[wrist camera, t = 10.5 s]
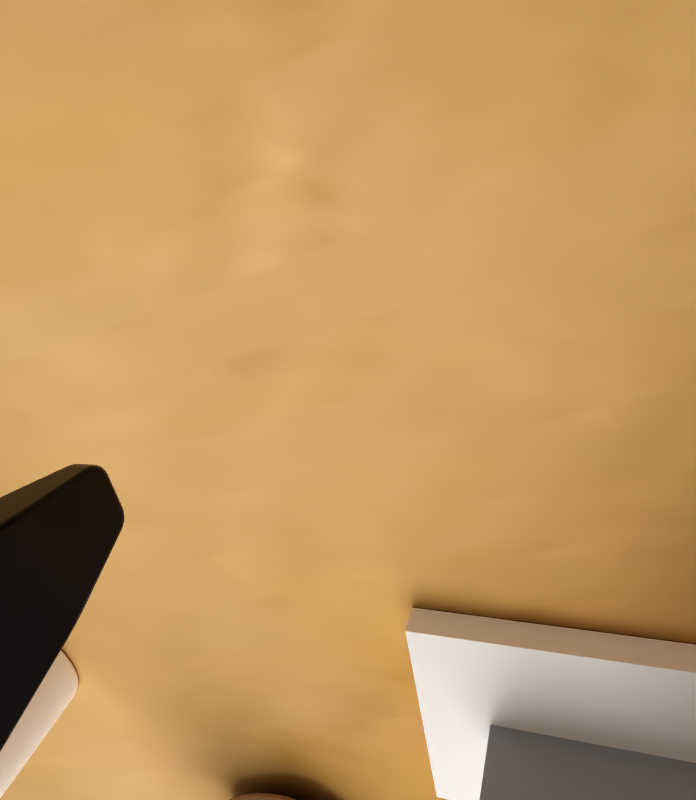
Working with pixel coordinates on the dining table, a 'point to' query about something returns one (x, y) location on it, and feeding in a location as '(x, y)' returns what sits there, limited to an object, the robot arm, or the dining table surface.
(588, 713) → the ridge
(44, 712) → the bottle
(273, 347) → the dining table surface
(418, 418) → the dining table surface
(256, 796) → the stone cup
